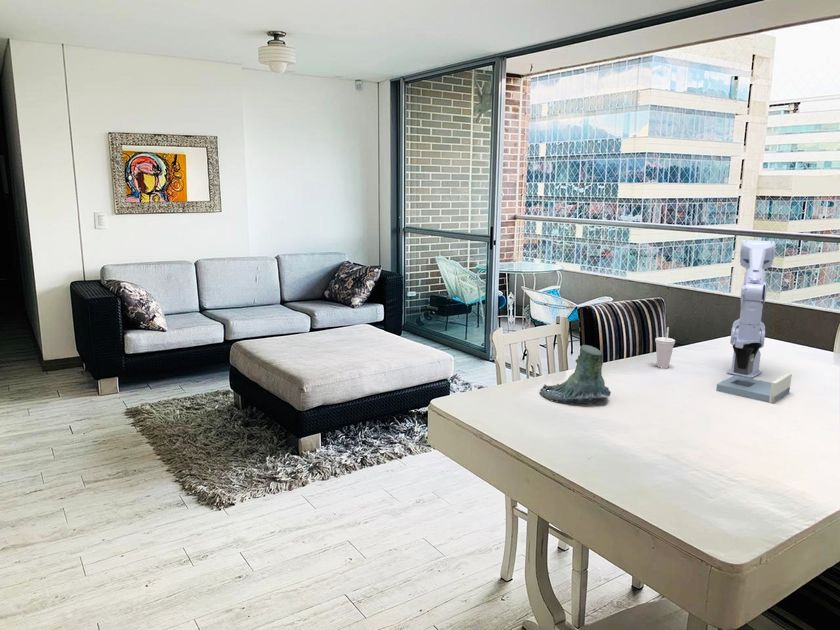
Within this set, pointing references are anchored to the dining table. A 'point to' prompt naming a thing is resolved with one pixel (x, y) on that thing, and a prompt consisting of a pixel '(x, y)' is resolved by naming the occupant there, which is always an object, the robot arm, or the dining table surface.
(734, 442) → the dining table surface
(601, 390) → the tree stump
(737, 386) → the outlet plate
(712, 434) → the dining table surface
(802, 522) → the dining table surface
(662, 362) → the smoothie
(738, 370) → the plug
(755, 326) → the robot arm
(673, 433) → the dining table surface
